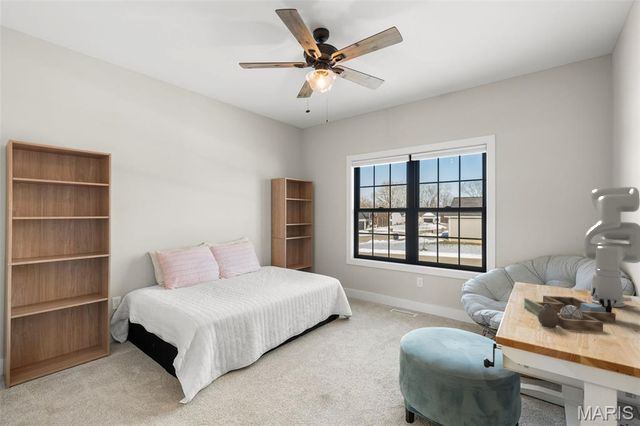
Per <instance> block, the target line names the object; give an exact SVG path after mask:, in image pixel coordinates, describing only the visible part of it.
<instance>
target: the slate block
mask: <svg viewBox="0 0 640 426" xmlns="http://www.w3.org/2000/svg"><path fill="white" fill-rule="evenodd" d="M580 311H592V312H606V308H605V307H602V305H601V304H597V303H594V302H592V303H591V302H590V303H589V302H587V303H581V306H580Z"/></svg>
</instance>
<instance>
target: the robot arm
mask: <svg viewBox="0 0 640 426" xmlns="http://www.w3.org/2000/svg"><path fill="white" fill-rule="evenodd" d="M590 197H591V202H592V204H593V207H594V209H595V210H596V218H595V221H596V223H595V224H594V225H593V226H592V227H590V228H589V229H588V230H587V231H586V233H585V235H584V237H583V244H582V245H583V247H582V254H583V256H584V257H585V258H586V259H589V260H594V262H595V263H594V264H595V266H594V267H595V273H594V275H592V279H591V282H590V283H591V284H590V296H591V298H590V301H591V302H592V303H593V304H597V305H600V306H602V307H605V308H606V312H610V313H613V307H614V308H615V307H616V308H622V307H623V308H624V307H625V306H626V304H625V302H630V303H631V302H632V300H633V299H632V297H625V296H623V283H622V271H621V268H620V263H630V264H638V263H640V225H639V224H638V223H637V222H630V221H629V222H628V221H627V222H622V221H621V220H622V219H621V218H622V216H621V215H622V213H627V212H628V213H633V212H638V210H639V208H640V191H639V189H638V188H636V187H634V186H625V187H621V186H619V187H618V186H617V187H600V188H596V189H593V190H592V191H591V193H590ZM597 235H598V238H600V240H604V241H602V242H598V243H592V239H593V238H594V237H595V236H597ZM605 240H607V241H619V242H605ZM620 242H623V243H620ZM624 242H627V243H624Z"/></svg>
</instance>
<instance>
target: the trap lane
mask: <svg viewBox="0 0 640 426" xmlns="http://www.w3.org/2000/svg"><path fill="white" fill-rule="evenodd" d="M571 303H572V305H573V306H575V307H577V308H578V307H580V306H581V303H588V302H586V301H584V300H582V299H579V298H576V297H574V296H561V295H560V296H559V295H542V301H534V300H532V299H530V298H528V297H524V307H523V308H524V309H525V310H526V311H528V312H530V313H532V314H533V315H535V316H536V317H538V312H539V310H540V309H541V308H542V307H543V306H544V305H545V304H550V305H552V306H553V308H554V309H555V311H556V312H560V309H561V308H563V307H564V306H563V304H564V305H565V306H567V305H571ZM559 308H560V309H559ZM579 310H580V308H579ZM581 312H584V314H583V313H582V319H584V320H575V319H564V318H563V317H561V316H559V315H560V314H558V316H559V323H558V325H557V326H558V327H560V328H561V329H563V330H578V331H591V332H592V331H594V332H595V331H597V332H604V322H609V323H610V322H611V323H616V321H617V320H616V319H617V318H616V315H617V314H616V312H615V313H614V312H612V313H610V312H592V311H581Z"/></svg>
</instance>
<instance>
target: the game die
mask: <svg viewBox="0 0 640 426" xmlns="http://www.w3.org/2000/svg"><path fill="white" fill-rule="evenodd" d="M563 306H564V307H563V308H561V309H560V308H559V309H560V311H559V314H558V315H559V316H561V317H563V318H564V319H575V320H584V319H582V313H583V314H584V312H581V311H580V310H579V308H580V307H578V308H577V307H575V306H573V305H572V303H571V305H567V306H565V305H564V304H563Z"/></svg>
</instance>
